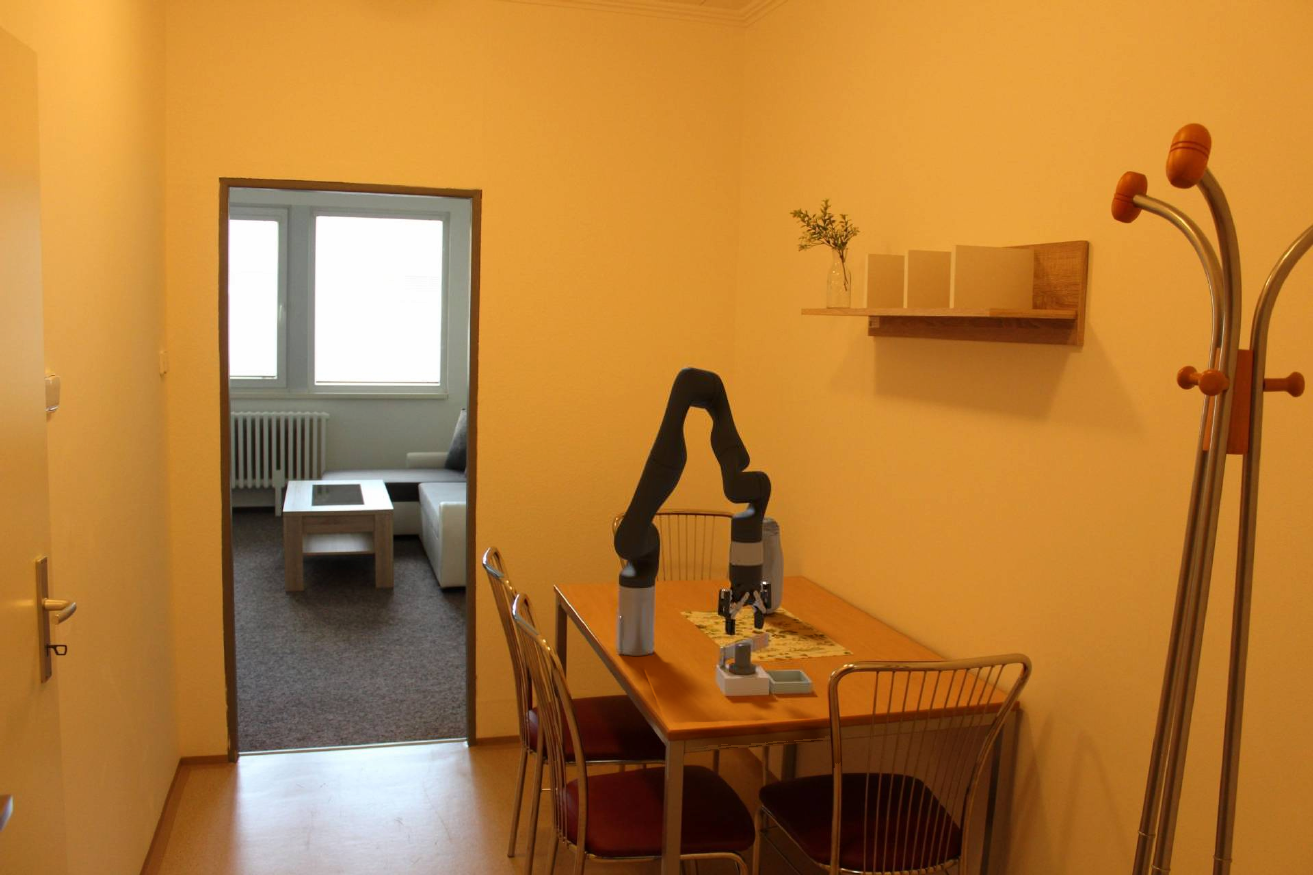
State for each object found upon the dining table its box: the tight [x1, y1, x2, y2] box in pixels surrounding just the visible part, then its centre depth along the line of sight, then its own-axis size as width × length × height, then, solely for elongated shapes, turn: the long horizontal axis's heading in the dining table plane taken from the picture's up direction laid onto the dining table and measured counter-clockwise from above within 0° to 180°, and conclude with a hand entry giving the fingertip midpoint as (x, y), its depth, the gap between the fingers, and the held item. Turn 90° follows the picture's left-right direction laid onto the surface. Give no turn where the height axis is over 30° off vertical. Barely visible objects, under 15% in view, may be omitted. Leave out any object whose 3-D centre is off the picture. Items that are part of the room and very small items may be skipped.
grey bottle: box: [749, 516, 785, 615], centre depth 310 cm, size 10×10×28 cm
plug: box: [728, 642, 756, 675], centre depth 240 cm, size 6×6×10 cm
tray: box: [764, 669, 813, 695], centre depth 242 cm, size 9×9×2 cm
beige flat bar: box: [718, 632, 770, 668], centre depth 248 cm, size 18×2×5 cm, turn 138°
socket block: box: [715, 663, 770, 697], centre depth 240 cm, size 10×10×4 cm
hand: (744, 631), depth 239 cm, fingers open, 8 cm apart
